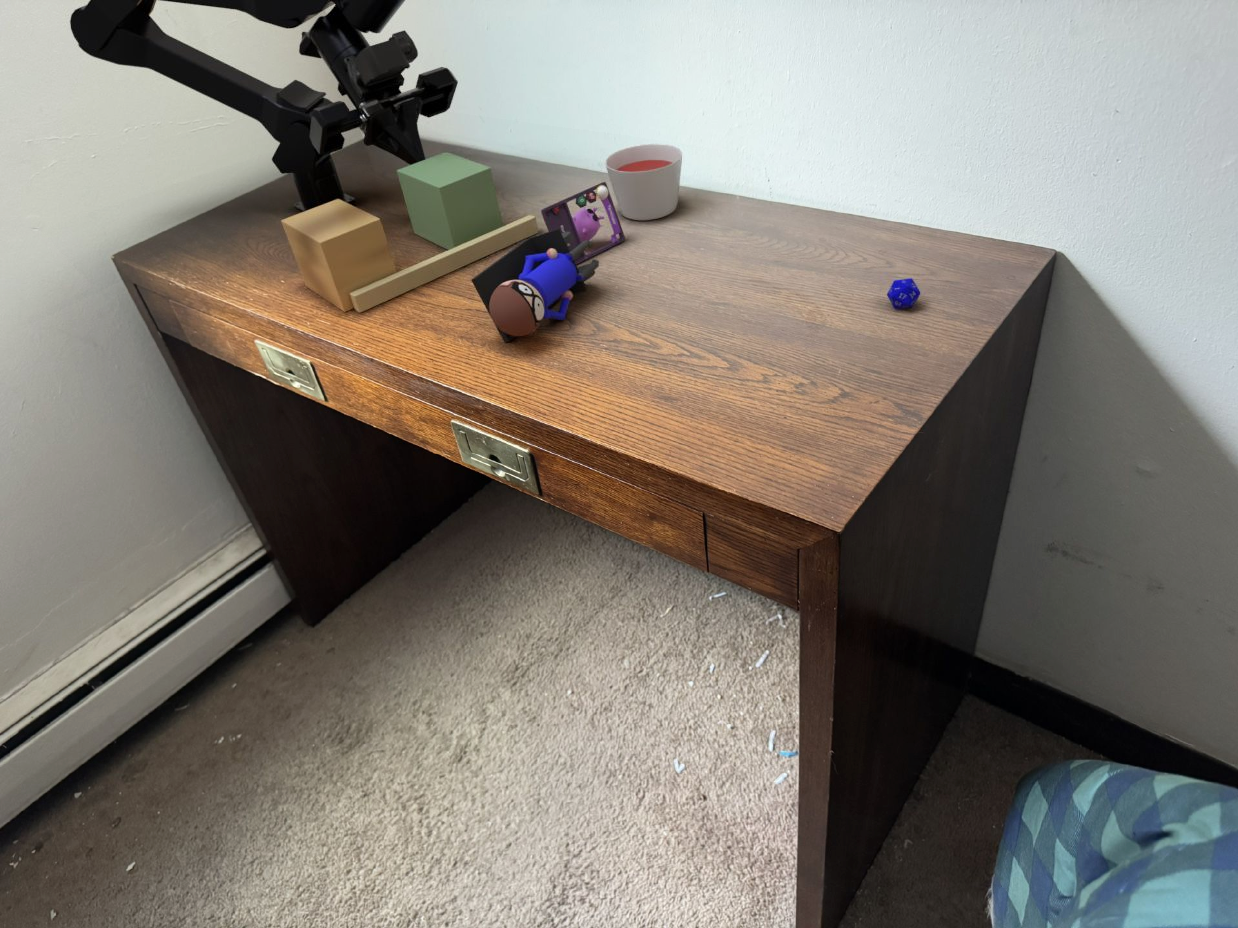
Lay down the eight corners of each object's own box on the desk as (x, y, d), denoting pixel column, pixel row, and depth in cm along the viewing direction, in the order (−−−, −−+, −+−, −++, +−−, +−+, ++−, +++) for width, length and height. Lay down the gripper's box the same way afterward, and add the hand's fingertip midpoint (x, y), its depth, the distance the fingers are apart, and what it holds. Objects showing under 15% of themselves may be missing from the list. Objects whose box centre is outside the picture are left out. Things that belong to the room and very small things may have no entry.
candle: (604, 226, 102) (597, 173, 98) (620, 196, 109) (614, 145, 105) (679, 224, 100) (675, 170, 96) (691, 194, 107) (687, 142, 103)
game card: (545, 208, 91) (609, 180, 95) (521, 214, 95) (583, 187, 100) (568, 269, 94) (629, 239, 98) (543, 272, 98) (603, 243, 102)
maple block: (305, 286, 99) (280, 220, 94) (360, 263, 103) (338, 198, 98) (344, 312, 93) (319, 242, 88) (401, 287, 96) (380, 218, 91)
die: (920, 301, 80) (929, 287, 78) (900, 319, 80) (908, 306, 77) (898, 282, 81) (906, 267, 78) (878, 300, 81) (886, 285, 78)
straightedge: (354, 309, 93) (348, 293, 92) (532, 230, 104) (529, 214, 103) (359, 313, 92) (354, 296, 91) (538, 232, 103) (535, 216, 102)
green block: (414, 233, 108) (396, 170, 103) (461, 214, 111) (446, 151, 106) (456, 254, 101) (439, 187, 96) (505, 233, 104) (491, 167, 99)
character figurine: (613, 290, 90) (528, 364, 81) (556, 275, 93) (468, 345, 84) (608, 220, 85) (517, 290, 76) (547, 206, 88) (452, 272, 79)
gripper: (284, 34, 94) (363, 153, 94) (429, -7, 103) (502, 102, 102) (281, 100, 104) (353, 208, 104) (413, 58, 112) (480, 157, 112)
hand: (423, 167), depth 105 cm, fingers closed, pressing on green block
